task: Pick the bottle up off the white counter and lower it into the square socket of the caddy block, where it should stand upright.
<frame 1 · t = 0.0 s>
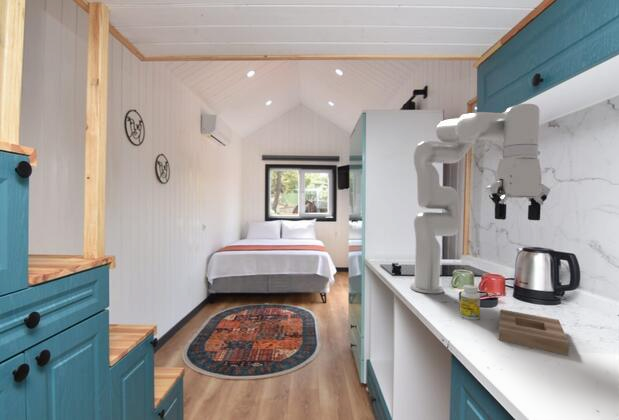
hand: (517, 219, 80), 31 cm above the countertop, fingers open, 9 cm apart
bottle caddy: (529, 334, 83), on the countertop
supplement bottle: (469, 317, 96), on the countertop
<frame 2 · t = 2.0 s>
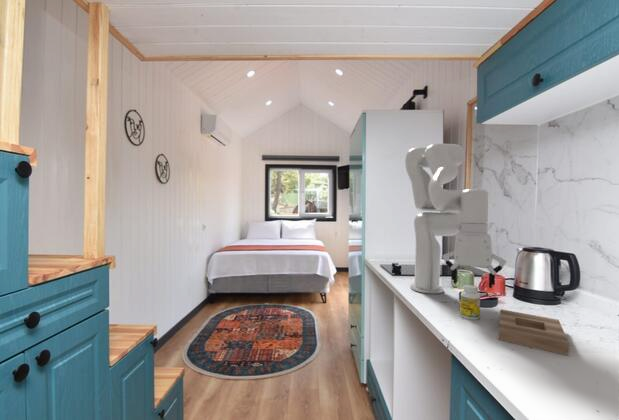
hand: (472, 284, 95), 10 cm above the countertop, fingers open, 9 cm apart
nothing on the countertop moved.
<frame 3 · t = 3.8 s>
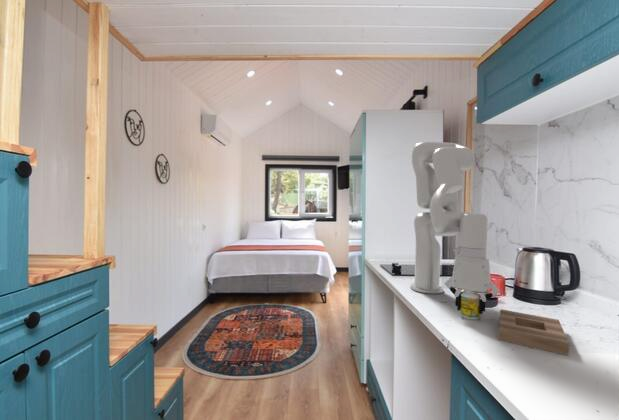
hand: (469, 310, 96), 2 cm above the countertop, fingers closed on supplement bottle, 5 cm apart
supplement bottle: (469, 317, 96), on the countertop, touching gripper
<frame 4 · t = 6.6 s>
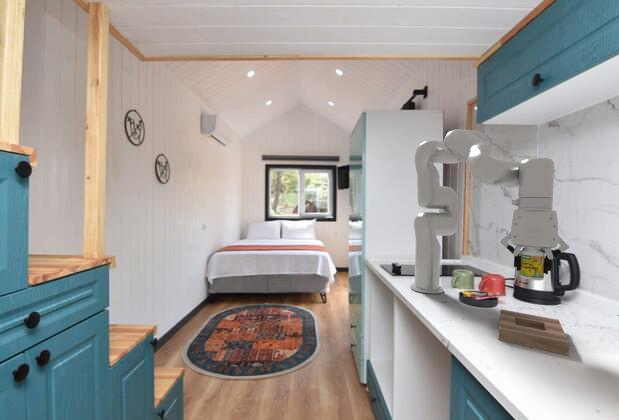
hand: (531, 271, 83), 17 cm above the countertop, fingers closed on supplement bottle, 5 cm apart
supplement bottle: (531, 279, 83), point 15 cm above the countertop, touching gripper
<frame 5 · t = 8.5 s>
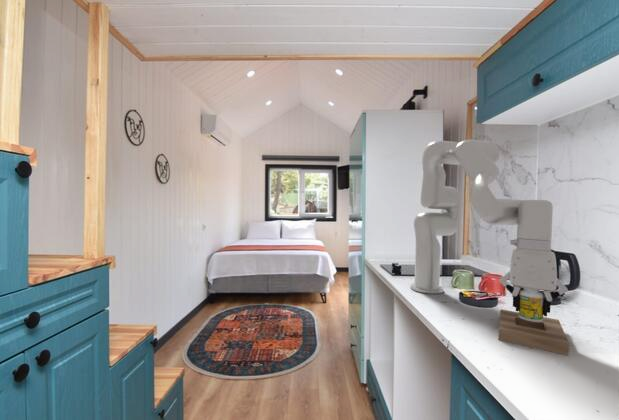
hand: (530, 311, 83), 6 cm above the countertop, fingers closed on supplement bottle, 5 cm apart
supplement bottle: (530, 319, 83), point 4 cm above the countertop, touching gripper
when the fingers open (4 cm above the countertop, at t = 9.8 s): supplement bottle drops 2 cm, resting in bottle caddy.
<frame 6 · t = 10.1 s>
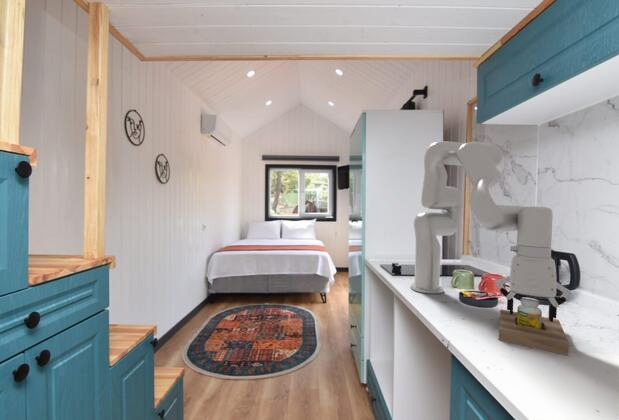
hand: (530, 316, 83), 5 cm above the countertop, fingers open, 8 cm apart
supplement bottle: (528, 335, 84), resting in bottle caddy
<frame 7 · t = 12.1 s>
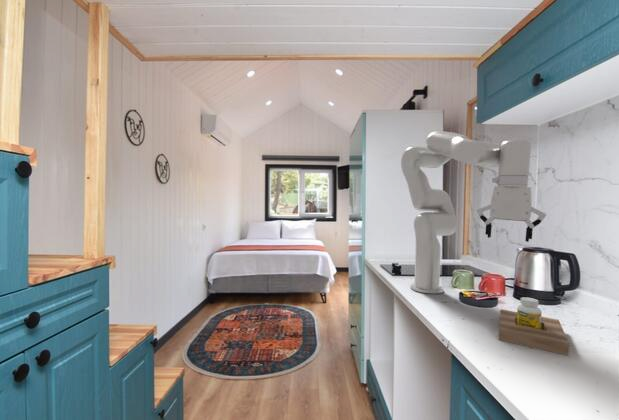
hand: (507, 239, 93), 25 cm above the countertop, fingers open, 9 cm apart
nothing on the countertop moved.
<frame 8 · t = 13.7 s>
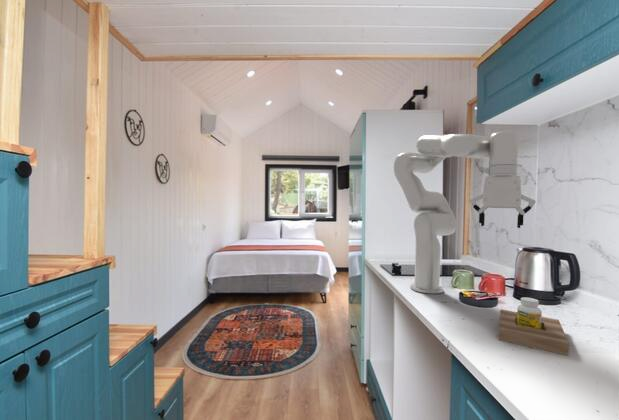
hand: (500, 226, 96), 28 cm above the countertop, fingers open, 9 cm apart
nothing on the countertop moved.
at the end: supplement bottle 0.3 cm off-centre on the bottle caddy, point 0.0 cm above the bottle caddy's base; supplement bottle tilted 0°; the gripper is holding nothing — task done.
